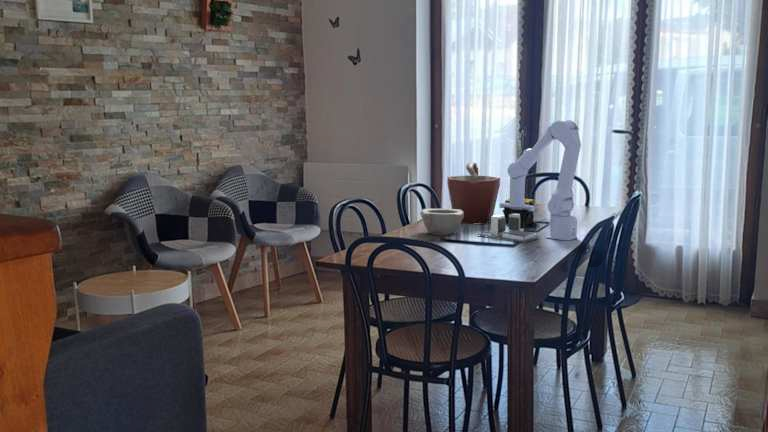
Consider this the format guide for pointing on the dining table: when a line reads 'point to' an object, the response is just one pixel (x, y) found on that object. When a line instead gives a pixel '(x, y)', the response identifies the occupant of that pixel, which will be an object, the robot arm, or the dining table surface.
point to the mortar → (442, 220)
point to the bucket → (474, 195)
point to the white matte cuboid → (514, 222)
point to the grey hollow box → (498, 232)
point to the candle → (516, 211)
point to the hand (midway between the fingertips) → (516, 227)
